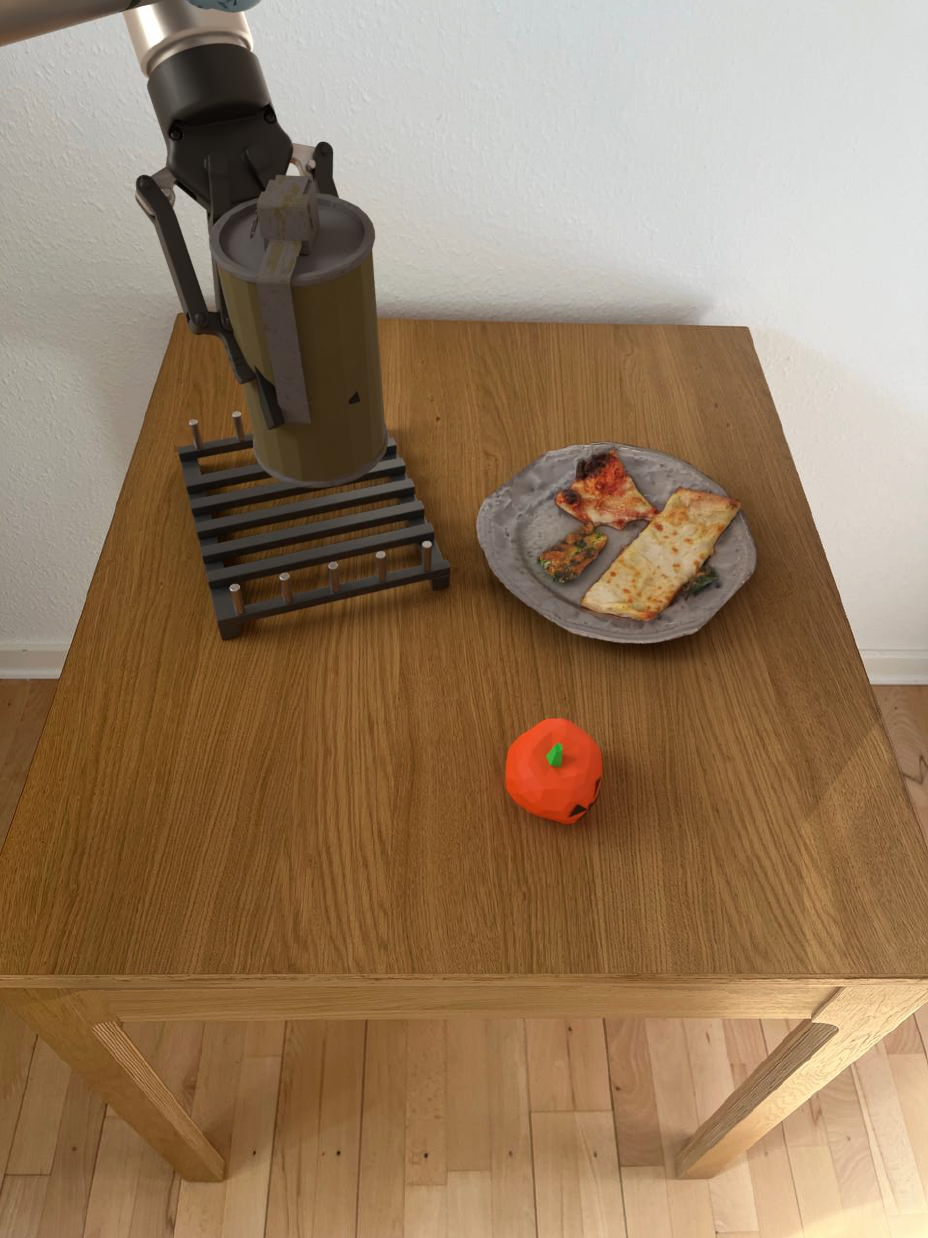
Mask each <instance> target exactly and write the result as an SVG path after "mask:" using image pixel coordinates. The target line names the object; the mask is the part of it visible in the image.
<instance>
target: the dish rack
mask: <svg viewBox="0 0 928 1238" xmlns="http://www.w3.org/2000/svg"><path fill="white" fill-rule="evenodd" d="M231 416H232V421H233V426H234V430H235V431H234V432H235V436H231V437H227V438H226V437H225V438H220V439H215V440H209V441H205V442H203V438H202V435H201V430H200V426H199V421H198V420H197V419H194V418H192V419H190V420H189V421H188V426H189V430H190V433H191V434H190V435H191V438H192V441H193V444H187V445H183V446H178V447H177V448H176V450H177V453H178V457H179V462H180V465H181V470H182V474H183V481H184V485H185V489H186V493H187V496H188V501H189V502H188V503H189V506H190V510H191V514H192V518H193V522H194V523H193V524H194V529H195V533H196V536H197V539H198V544H199V549H200V554H201V558H202V562H203V566H204V571H205V576H206V580H207V585H208V588H209V593H210V596H211V601H212V605H213V610H214V616H215V620H216V623H217V627H218V632H219V635H220V639H221V641H225V640H231V639H234V638H238V637H241V636H242V634H241V629H240V625H239V624H244V623H248V622H253V621H257V620H262V619H267V618H270V617H274V616H278V615H282V614H283V615H284V614H286V613H291V612H292V613H293V612H296V611H299V610H304V609H308V608H309V609H310V608H312V607H313V608H314V607H317V606H321V605H326V604H329V603H334V602H338V601H343V600H347V599H351V598H355V597H361V596H364V595H365V596H366V595H368V594H369V595H370V594H372V593H377V592H382V591H385V590H389V589H395V588H400V587H404V586H407V585H411V584H417V583H421V582H424V581H428V582H429V585H430V588H431V590H432V591H437V590H441V589H445V588H449V587H450V586H451V565H450V563H449V561H448V559H444V558H443V555H442V553H441V551H440V548H439V545H438V544H437V541H436V539H435V537H436V535H435V534H436V532H435V529H434V527H433V524H432V523H431V522H429V523H428V521H427V518H426V514H425V513H426V510H425V506H424V504H423V501H422V500H420V499H418V498H417V496H416V486H415V484H414V481H413V479H412V478H409V477H408V475H407V472H406V471H407V467H406V463H405V461H404V459H403V457H400V456H399V454H398V449H397V448H398V447H397V446H398V445H397V442H396V440H395V438H394V437H390V434H389V433H388V445H387V449H386V453H385V454H384V456H383V457H382V459H381V460H380V461H379V462H378V464H377V465H376V466H375V467H374V468H373V469H372V470H370V471H369V472H368V473H366V474H365V475H363V476H362V477H360V478H358V479H356V480H353V481H351V482H348V483H345V484H342V485H339V486H331V487H322V488H306V487H299V486H295V485H291V484H287V483H284V482H282V481H277V482H273V483H269V484H262V485H258V486H253V487H249V488H244V489H238V490H233V491H229V492H224V493H219V494H218V493H217V494H213V495H209V496H208V494H207V491H211V490H217V489H221V488H226V487H231V486H236V485H241V484H246V483H247V484H248V483H252V482H256V481H262V480H267V479H271V478H273V477H272V476H271V475H270V474H268V473H267V472H266V471H265V470H264V469H263V468H262V466H261V465H260V464H259V463H255V464H250V465H245V466H240V467H233V468H229V469H224V470H220V471H214V472H208V473H204V474H202V471H201V466H200V463H199V459H202V458H207V457H212V456H218V455H222V454H229V453H235V452H239V451H243V450H244V451H245V450H248V449H249V450H250V449H253V438H254V436H253V432H252V433H247V434H245V428H244V423H243V418H242V413H241V412H240V411H234V412H232V414H231ZM379 479H385V480H386V482H387V483H382V484H378V485H373V486H372V485H371V486H367V487H362V488H357V489H353V490H348V491H344V492H343V491H342V492H339V493H334V494H329V495H325V496H320V497H315V498H309V499H305V500H304V499H303V500H300V501H294V502H291V503H286V504H281V505H277V506H271V507H267V508H262V509H256V510H252V511H247V512H242V513H236V514H233V515H228V516H222V517H217V518H213V516H212V513H213V514H214V513H217V512H221V511H226V510H233V509H237V508H241V507H246V506H247V507H248V506H251V505H256V504H260V503H265V502H271V501H275V500H280V499H286V498H290V497H295V496H299V495H300V496H301V495H306V494H311V493H314V492H319V491H324V490H330V489H334V488H340V487H343V486H349V485H354V484H359V483H364V482H369V481H374V480H379ZM389 500H394V501H395V503H396V504H395V505H391V506H387V507H381V508H378V509H373V510H369V511H364V512H359V513H354V514H349V515H345V516H344V515H343V516H340V517H335V518H330V519H325V520H320V521H316V522H312V523H311V522H310V523H306V524H301V525H297V526H292V527H288V528H283V529H279V530H274V531H269V532H265V533H264V532H263V533H259V534H255V535H250V536H245V537H240V538H236V539H231V540H227V541H222V542H219V540H218V536H223V535H227V534H231V533H237V532H242V531H246V530H251V529H256V528H261V527H267V526H270V525H276V524H280V523H285V522H289V521H294V520H299V519H304V518H308V517H313V516H318V515H322V514H328V513H332V512H336V511H337V512H338V511H341V510H346V509H350V508H356V507H361V506H365V505H370V504H374V503H379V502H383V501H385V502H386V501H389ZM399 522H403V523H404V525H405V528H401V529H395V530H392V531H387V532H383V533H378V534H373V535H369V536H365V537H360V538H355V539H351V540H346V541H341V542H337V543H332V544H329V545H324V546H318V547H314V548H310V549H305V550H300V551H296V552H292V553H291V552H290V553H287V554H282V555H277V556H273V557H268V558H263V559H260V560H254V561H250V562H245V563H241V564H237V565H232V566H231V565H230V566H226V567H225V564H224V561H225V560H229V559H235V558H238V557H243V556H247V555H251V554H252V555H253V554H257V553H261V552H267V551H271V550H276V549H279V548H284V547H289V546H293V545H298V544H303V543H307V542H308V543H309V542H312V541H317V540H321V539H325V538H331V537H335V536H340V535H345V534H348V533H354V532H358V531H362V530H367V529H373V528H377V527H382V526H386V525H390V524H394V523H395V524H396V523H399ZM411 545H413V547H414V549H415V551H416V553H417V556H418V559H419V561H420V565H416V566H412V567H408V568H407V567H406V568H403V569H399V570H393V571H389V572H387V559H386V557H387V555H386V552H385V551H388V550H392V549H396V548H400V547H405V546H411ZM373 553H374V554H375V567H376V568H375V569H376V575H373V576H368V577H363V578H361V579H359V578H358V579H355V580H350V581H346V582H342V583H340V582H341V581H340V570H339V564H338V563H337V562H338V561H342V560H347V559H351V558H355V557H361V556H364V555H365V556H366V555H371V554H373ZM324 564H328V565H327V566H328V577H329V585H328V586H325V587H320V588H317V589H315V588H314V589H311V590H306V591H302V592H298V593H293V587H292V583H291V577H290V574H289V572H293V571H298V570H302V569H307V568H311V567H316V566H321V565H324ZM275 575H279V582H280V589H281V593H282V596H280V597H277V598H271V599H268V600H263V601H259V602H255V603H250V604H246V605H245V603H244V599H243V594H242V590H241V586H240V585H239V583H244V582H248V581H253V580H258V579H261V578H267V577H271V576H275Z"/></svg>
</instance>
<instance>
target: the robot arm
mask: <svg viewBox="0 0 928 1238" xmlns="http://www.w3.org/2000/svg"><path fill="white" fill-rule="evenodd" d="M262 1H263V0H0V48H2V47H5V46H9V45H12V44H16V43H19V42H22V41H26V40H30V39H34V38H37V37H40V36H44V35H47V34H50V33H53V32H57V31H61V30H64V29H68V28H71V27H75V26H78V25H82V24H86V23H89V22H92V21H96V20H98V19H102V18H106V17H109V16H113V15H116V14H121V13H122V16H123V19H124V21H125V22H124V23H125V25H126V28H127V31H128V34H129V37H130V41H131V44H132V47H133V49H134V52H135V56H136V59H137V62H138V65H139V68H140V71H141V73H142V74H143V76H144V77H145V78H147V79H148V80H147V84H146V89H147V92H148V95H149V99H150V102H151V105H152V107H153V111H154V114H155V116H156V119H157V122H158V125H159V128H160V131H161V134H162V137H163V140H164V143H165V146H166V162H165V166H164V167H163V168H161V169H159V170H158V171H156V172H155V173H153V174H152V175H148V174H141V175H139V176H138V177H137V178H136V180H135V193H134V196H135V197H134V198H135V201H136V203H137V205H138V206H139V207H140V208H141V210H142V211H143V212H144V214H145V215H146V216H147V218H148V219H149V221H150V222H151V223H152V225H153V226H154V229H155V232H156V236H157V238H158V240H159V244H160V247H161V250H162V253H163V256H164V258H165V261H166V264H167V268H168V271H169V273H170V276H171V280H172V282H173V285H174V289H175V291H176V294H177V297H178V300H179V304H180V306H181V309H182V311H183V315H184V319H185V321H186V323H187V326H188V329H189V331H190V332H191V333H192V334H193V335H195V336H202V335H205V336H206V335H207V336H214V337H216V338H218V339H219V340H220V341H221V342H222V344H223V346H224V349H225V353H226V355H227V356H226V357H227V358H228V361H229V365H230V367H231V370H232V374H233V376H234V379H235V381H237V383H238V384H239V385H243V384H245V383H248V382H251V381H252V380H254V379H255V378H256V381H257V388H258V394H259V401H260V407H261V410H262V413H263V416H264V419H265V422H266V425H267V428H268V430H271V429H275V428H278V427H280V426H281V425H282V424H283V423H285V421H284V418H283V415H282V412H281V409H280V406H279V405H278V401H277V397H276V394H275V391H274V388H273V384H272V383H271V382H269V381H268V380H267V379H265V377H264V376H263V375H262V374H261V372H260V371H259V370H258V369H257V367H256V366H255V365H254V367H255V373H254V372H253V370H252V369H251V368H250V366H249V365H248V363H247V361H246V359H245V357H244V355H243V353H242V351H241V349H240V347H239V345H238V343H237V341H236V339H235V337H234V335H233V328H232V324H231V321H230V317H229V314H228V310H227V306H226V302H225V298H224V294H223V290H222V286H221V281H220V277H219V272H218V267H217V263H216V261H215V260H214V258H213V256H212V254H211V253H210V258H211V269H212V280H213V292H214V301H215V302H214V303H215V304H214V305H215V311H209V309H208V306H207V303H206V301H205V298H204V294H203V291H202V288H201V285H200V283H199V280H198V276H197V273H196V270H195V267H194V264H193V261H192V259H191V255H190V253H189V249H188V246H187V244H186V241H185V238H184V235H183V231H182V229H181V226H180V225H181V224H180V223H179V219H178V216H177V214H176V212H175V209H174V207H175V203H176V193H175V191H174V187H175V186H177V187H178V188H179V189H180V190H181V191H182V192H184V193H185V194H186V195H188V197H190V198H191V199H192V200H193V201H194V202H196V203H197V204H198V205H199V206H200V207H202V208H203V209H204V210H205V212H206V224H207V233H208V237H209V236H210V233H211V230H212V228H213V226H214V224H215V223H216V222H217V221H218V220H219V219H220V218H221V217H222V216H223V214H225V213H227V212H228V211H230V210H231V209H233V208H234V207H236V206H238V205H239V204H241V203H244V202H247V201H250V200H253V199H256V198H259V196H260V194H261V192H265V190H266V188H267V185H268V183H269V181H270V180H275V178H276V175H287V173H288V170H289V167H290V164H292V165H294V166H295V167H296V168H297V170H298V175H299V176H311V177H313V182H315V187H316V193H320V194H328V195H332V196H335V197H337V198H340V196H339V192H338V190H337V186H336V183H335V180H334V149H333V147H332V145H331V144H330V143H329V142H327V141H320V142H318V143H317V144H316V145H315V146H312V145H307V144H301V143H297V142H296V143H295V142H293V141H292V138H291V137H290V135H289V134H288V133H287V132H286V130H284V128H283V127H282V125H281V124H280V122H279V121H278V118H277V117H278V116H277V113H276V110H275V106H274V104H273V101H272V97H271V94H270V91H269V88H268V84H267V81H266V77H265V75H264V71H263V69H262V66H261V63H260V60H259V57H258V56H257V55H256V54H255V53H254V52H253V49H254V39H253V36H252V33H251V30H250V26H249V24H248V21H247V17H246V15H245V12H246V11H249V10H251V9H253V8H254V7H256V6H258V5H259V4H260V3H262ZM358 402H360V398H359V394H358V391H357V392H356V393H355V394H354V395H353V396H352V397H351V398H350V399H349V404H354V403H358Z"/></svg>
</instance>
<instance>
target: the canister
mask: <svg viewBox="0 0 928 1238" xmlns="http://www.w3.org/2000/svg"><path fill="white" fill-rule="evenodd" d="M375 229H376V228H375V226H374V223H373V221H372V220H371V218H370V216H369V215H368V214H367V213H366V212H365V211H364V210H362V208H360V207H359V206H358V205H356V204H354V203H352V202H350V201H348V200H346V199H343V198H340V197H339V198H337V197H335V196H332V195H328V194H320V193H316V187H315V182H313V177H311V176H300V175H289V174H288V175H287V174H286V175H276V178H275V180H270V181H269V183H268V185H267V188H266V190H265V192H261V194H260V196H259V198H256V199H253V200H250V201H247V202H244V203H241V204H239V205H238V206H236V207H234V208H233V209H231V210H230V211H228V212H227V213H225V214H223V216H222V217H221V218H220V219H219V220H218V221H217V222H216V223H215V224H214V226H213V228H212V230H211V233H210V236H209V235H208V247H209V251H210V255H211V254H212V256H213V258H214V260H215V261H216V263H217V267H218V272H219V277H220V281H221V286H222V290H223V294H224V298H225V302H226V306H227V310H228V314H229V317H230V321H231V324H232V328H233V335H234V337H235V339H236V341H237V343H238V345H239V347H240V349H241V351H242V353H243V355H244V357H245V359H246V361H247V363H248V365H249V366H250V368H251V369H252V370H253V372H254V373H255V367H254V365H255V366H256V367H257V369H258V370H259V371H260V372H261V374H262V375H263V376H264V377H265V379H267V380H268V381H269V382H271V383H272V384H273V388H274V391H275V394H276V397H277V401H278V405H279V406H280V409H281V412H282V415H283V418H284V421H285V423H283V424H282V425H281V426H280V427H278V428H275V429H271V430H268V428H267V425H266V422H265V419H264V416H263V413H262V410H261V407H260V401H259V394H258V388H257V381H256V378H255V379H254V380H252V381H251V382H248V383H245V384H242V388H243V389H242V390H243V393H244V398H245V403H246V408H247V413H248V418H249V421H250V425H251V431H252V433H253V436H254V438H253V448H252V449H253V454H254V456H255V459H256V461H257V464H260V465H261V466H262V468H263V469H264V470H265V471H266V472H267V473H268V474H270V475H271V476H272V478H273V479H275V480H278V481H279V482H284V483H287V484H291V485H295V486H299V487H306V488H322V487H331V486H339V485H342V484H345V483H348V482H351V481H353V480H356V479H358V478H360V477H362V476H363V475H365V474H366V473H368V472H369V471H370V470H372V469H373V468H374V467H375V466H376V465H377V464H378V462H379V461H380V460H381V459H382V457H383V456H384V454H385V453H386V449H387V445H388V434H389V431H388V427H387V424H386V422H385V421H386V420H385V408H384V407H385V406H384V405H385V404H384V393H383V380H382V379H383V378H382V364H381V352H380V337H379V324H378V323H379V321H378V311H377V297H376V296H377V294H376V283H375V282H376V280H375V269H374V266H375V265H374V254H373V249H374V244H375V240H376V230H375ZM357 391H358V394H359V398H360V402H358V403H354V404H349V399H350V398H351V397H352V396H353V395H354V394H355V393H356V392H357Z"/></svg>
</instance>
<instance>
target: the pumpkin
mask: <svg viewBox="0 0 928 1238" xmlns="http://www.w3.org/2000/svg"><path fill="white" fill-rule="evenodd" d="M602 778H603V758H602V750H601V749H600V747H599V746H598V744H597V743H596V742H595V740H594V739H593V738H592V737H591V736H590V735H589V734H588V733H587V732H586V731H585V730H583V729H582V728H580V727H579V726H578V725H576V724H575V723H574V722H572V721H571V720H570V719H566V718H563V717H561V718H560V717H558V718H557V717H555V718H554V717H553V718H552V717H550V718H546V719H544V720H543V719H542V720H541V721H539V722H538V723H537V724H536V725H534V726H533V727H531V728H530V729H528V730H527V731H525V732H523V734H520V735H519V736H518V737H517V738H515V740H514V741H513V743H512V744H511V745H510V746H509V748H508V752H507V755H506V759H505V787H506V788H505V789H506V791H507V794H508V795H509V796H510V797H511V799H512V800H513V801H514V802H515V803H516V804H517V805H518V806H519V807H521V808H522V809H524V810H525V811H526V812H528V813H529V814H531V815H533V816H534V817H538V818H542V819H546V820H549V821H555V822H558V823H560V824H564V825H569V824H575V823H576V822H578V821H580V820H581V819H582V818H583V817H584V816H585V815H586V813H587V812H589V811H590V809H591V808H592V807H593V805H594V804H595V803H596V802H597V800H598V799H599V796H600V794H601V792H602V790H600V788H601V783H602Z"/></svg>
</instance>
